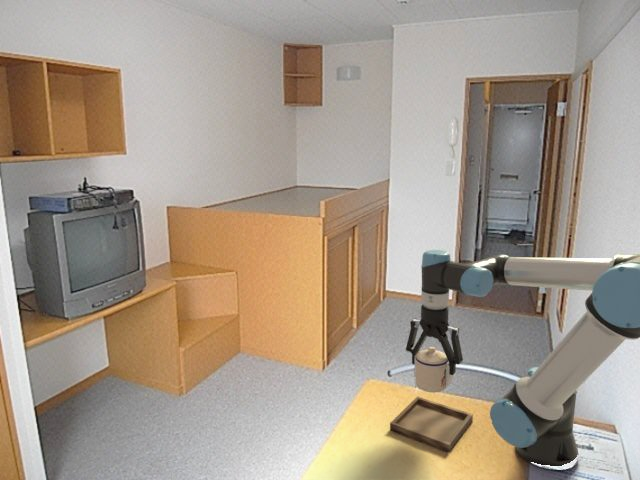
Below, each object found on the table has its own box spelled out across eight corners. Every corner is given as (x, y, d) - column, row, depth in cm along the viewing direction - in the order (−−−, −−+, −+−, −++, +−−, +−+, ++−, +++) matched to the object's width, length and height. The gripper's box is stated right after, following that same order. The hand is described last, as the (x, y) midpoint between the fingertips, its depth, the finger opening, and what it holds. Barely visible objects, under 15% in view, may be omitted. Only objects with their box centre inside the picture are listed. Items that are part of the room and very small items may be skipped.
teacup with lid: (448, 394, 133) (450, 355, 131) (415, 392, 135) (416, 353, 132) (444, 374, 145) (445, 337, 142) (413, 372, 146) (414, 336, 144)
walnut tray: (472, 421, 144) (472, 414, 143) (449, 453, 130) (449, 444, 129) (417, 403, 154) (417, 396, 154) (390, 430, 140) (390, 423, 140)
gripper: (393, 302, 138) (393, 374, 142) (468, 316, 125) (464, 395, 130) (405, 295, 144) (404, 365, 148) (477, 308, 131) (474, 384, 135)
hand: (432, 379), depth 139 cm, fingers closed on teacup with lid, 9 cm apart
